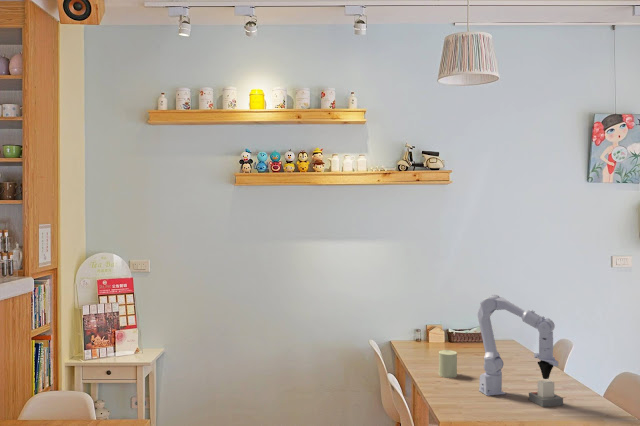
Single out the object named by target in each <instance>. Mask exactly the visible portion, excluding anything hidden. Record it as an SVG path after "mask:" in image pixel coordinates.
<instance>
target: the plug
mask: <svg viewBox="0 0 640 426" xmlns="http://www.w3.org/2000/svg"><path fill="white" fill-rule="evenodd" d="M537 392H538V396H540V397H541V398H549V397H554V394H555V381H553V380H550V379H543V380H537Z"/></svg>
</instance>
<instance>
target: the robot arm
mask: <svg viewBox="0 0 640 426" xmlns="http://www.w3.org/2000/svg"><path fill="white" fill-rule="evenodd" d="M502 310H505V311H507V312H509V313H511V314H513V315H516V316H517V317H519V318H521V319H522V322H524V323H525V324H527V325H529V326H531V327H533V328H535V329H536V330H537V331H538V332H539V336H538V352H537V353H536V352H535V353H534V354H533V358H534V359H537V360H539V361H537V365H538V367H539V370H540V372H541V378H542V379H543V380H550V379H549V378H550V374H551V372H552V370H553V368H554V367H559V361H558V360H556V357H555V356H554V329H555V328H556V327H555V326H556V325H555V322H554V321H553V320H552V319H550V318H549V317H548V318H546V316H542V315H540V314H537V313H536V311H534V310H533V309H532V310H529V309H528V310H525V309H522V308H521V307H519V306H517V304H516V305H515V304H514V303H512V302H511V301H509V300H507V299H506V298H504V297H501V296H500V295H498V294H491V296H488V297H484V298H483V299H482V301H480V306H479V309H478V311H477V319H478V325H479V330H480V333H481V339H482V343H483V348H484V352H485V353H484V357H483V360H484V361H483V362H484V363H483V369H484V371H485V372H484V373H481V374H480V375H479V381H478V383H479V387H478V388H479V389H478V392H480V393H483V395H485V396H487V397H488V396H500V395H506V392H504V391H503V390H502V387H503V386H502V385H503V384H502V383H503V382H502V381H503V379H502V378H503V374H502V373H503V372H502V369H503V368H504V361H503V359H502V358H501V355H500V352H499V351H498V350H497V349H498V348H497V345H496V340H495V335H494V331H493V326H492V320H491V316H492V315H493V313H494V312H495V311H502Z"/></svg>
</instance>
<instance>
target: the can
mask: <svg viewBox="0 0 640 426" xmlns="http://www.w3.org/2000/svg"><path fill="white" fill-rule="evenodd" d="M438 376H439V377H441V378H447V379H449V378H451V379H453V378H457V377H458V352H457V351H455V350H449V349H448V350H447V349H444V350H443V349H442V350H439V351H438Z"/></svg>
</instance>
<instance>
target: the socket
mask: <svg viewBox="0 0 640 426" xmlns="http://www.w3.org/2000/svg"><path fill="white" fill-rule="evenodd" d="M528 400H529V401H531V402H532V403H535V404H536V405H537V406H540V407H542V408H547V407H557V406H564V398H563V397H562V396H559V395H557V394H555V393H554V397H549V398H541V397H540V396H538V391H532V392H528Z"/></svg>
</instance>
